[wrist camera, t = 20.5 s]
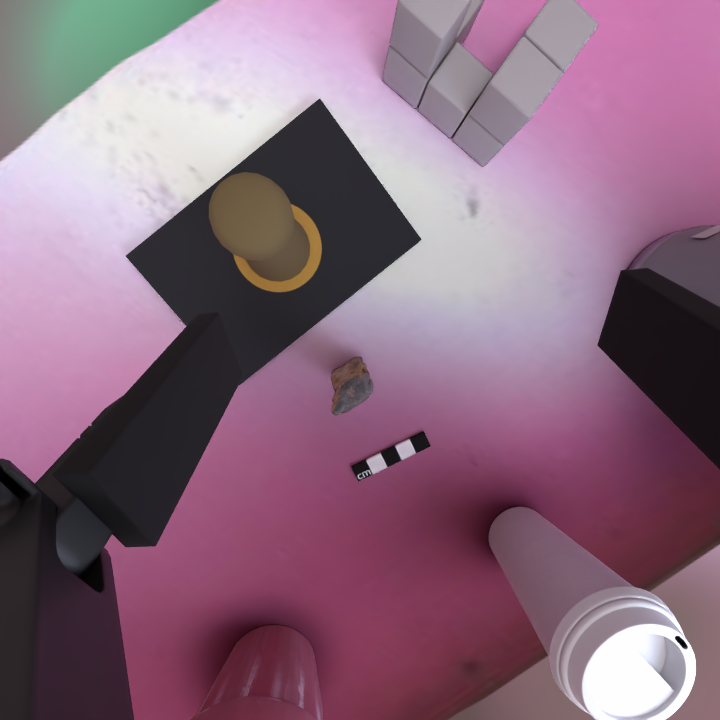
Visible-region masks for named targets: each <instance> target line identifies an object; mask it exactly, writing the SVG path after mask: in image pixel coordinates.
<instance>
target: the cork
mask: <svg viewBox="0 0 720 720" xmlns="http://www.w3.org/2000/svg"><path fill="white" fill-rule="evenodd" d="M209 220H210V223H211V226H212V230H213V232H214V234H215V236H216V237H217V239H218V240H219V242H220V243H221V245H222V246H224V247H225V248H226V249H227V250H229V251H230V252H231V253H232V254H234V255H236V256H239V257H241V258H244V259H245V260H246V262H247V263H248V265H249V266H250V268H251V269H252V270H253V271H254V272H255V273H256V274H258V275H259V276H260V277H262V278H264V279H267V280H269V281H278V282H282V281H286V280H290V279H292V278H294V277H295V276H297V275H298V274H300V273H301V271H302V270H303V269H304V268H305V266H306V265H307V262H308V259H309V256H310V242H309V239H308V235H307V233H306V232H305V230H304V228H303V227H302V225H301V224H300V223H299V222H298V221H297V220H295V219H294V214H293V211H292V207H291V203H290V201H289V199H288V197H287V196H286V194H285V193H284V191H283V189H282V188H280V187H279V186H278V185H277V184H276V183H275V182H273V181H272V180H271V179H269V178H267V177H264V176H262V175H260V174H258V173H248V172H243V173H238V174H234V175H231V176H230V177H228V178H226V179H225V180H223V181H222V182H221V183H220V184H219V185H218V187H217V188H216V189H215V190H214V192H213V194H212V197H211V200H210V203H209Z"/></svg>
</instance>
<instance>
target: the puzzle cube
mask: <svg viewBox="0 0 720 720" xmlns="http://www.w3.org/2000/svg"><path fill="white" fill-rule="evenodd" d="M483 2H484V0H398V2H397V7H396V12H395V18H394V23H393V28H392V33H391V38H390V46H389V48H388V53H387V58H386V63H385V68H384V73H383V78H382V79H383V81H384V82H385V83H386V84H387V85H388V86H390V87H391V88H392V89H393V90H394V91H395V92H397V93H398V94H399V95H400V96H401V97H402V98H404V99H405V100H406V101H407V102H408V103H409V104H411V105H412V106H413V107H414V108H417V106H418V105H419V104H420V106H419V108H418V111H419V112H420V113H421V114H422V115H423V116H425V117H426V118H427V119H428V120H429V121H430V122H432V123H433V124H434V125H435V126H436V127H437V128H439V129H440V130H441V131H442V132H443V133H444V134H446V135H447V136H448V137H449V138H450V137H452V136H453V134H454V133H455V131H456V130H457V129H458V127H459V126H460V124H461V123H462V122H463V120H464V119H465V117H466V116H467V115H468V116H467V117H466V119H465V120H464V122H463V123H462V125H461V126H460V128H459V129H458V131H457V132H456V134H455V136H454V137H453V141H454V142H455V143H456V144H457V145H458V146H460V147H461V148H462V149H463V150H464V151H465V152H467V153H468V154H469V155H470V156H471V157H472V158H474V159H475V160H476V161H477V162H478V163H479V164H481V165H482V166H485V165H486V164H487V163H488V162H489V161H490V160H491V159H492V158H493V157H494V156H495V155H496V154H497V153H498V152H499V151H500V150H501V149H502V148H503V147H504V145H505V144H506V143H508V141H509V140H510V139H511V138H512V137H513V136H514V135H515V134H516V133H517V132H518V131H519V130H520V129H521V128H522V127H523V126H524V125H525V124H526V123H527V122H528V121H529V120H530V119H531V118H532V116H533V115H534V114H535V112H536V111H537V110H538V108H539V107H540V105H541V104H542V103H543V101H544V100H545V99H546V97H547V96H548V94H549V93H550V92H551V90H552V89H553V88H554V86H555V85H556V83H557V82H558V81H559V79H560V78H561V77H562V75H563V73H564V72H565V71H566V70H567V68H568V67H569V66H570V64H571V63H572V61H573V60H574V59H575V57H576V56H577V55H578V53H579V52H580V51H581V49H582V48H583V46H584V45H585V44H586V42H587V41H588V40H589V38H590V37H591V35H592V34H593V33H594V31H595V30H596V29H597V27H598V22H597V21H596V20H595V19H594V18H593V17H592V16H591V15H590V14H589V13H588V12H587V11H586V10H585V9H584V8H583V7H582V6H581V5H579V4H578V3H577V2H576V1H575V0H548V1H547V2H546V3H545V5H544V6H543V8H542V9H541V10H540V12H539V13H538V15H537V16H536V17H535V19H534V20H533V22H532V23H531V24H530V26H529V27H528V29H527V30H526V31H525V33H524V34H523V36H522V37H521V38H520V40H519V41H518V43H517V44H516V45H515V47H514V48H513V50H512V51H511V52H510V54H509V55H508V57H507V58H506V59H505V61H504V62H503V64H502V65H501V66H500V68H499V69H498V71H497V72H496V73H495V75H494V76H493V73H492V72H491V71H489V70H488V69H487V68H486V67H485V66H484V65H483V64H482V63H481V62H480V61H478V60H477V59H476V58H475V57H474V56H473V55H472V54H471V53H470V52H468V51H467V50H466V49H465V48H464V47H463V46H462V45H461V44H462V43H463V41H464V40H465V38H466V37H467V36H468V34H469V32H470V29H471V27H472V25H473V23H474V21H475V19H476V17H477V14H478V12H479V10H480V8H481V6H482V4H483ZM492 77H493V78H492ZM420 102H421V103H420ZM470 110H471V111H470ZM469 112H470V113H469ZM468 113H469V114H468Z"/></svg>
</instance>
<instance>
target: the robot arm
mask: <svg viewBox="0 0 720 720" xmlns="http://www.w3.org/2000/svg"><path fill="white" fill-rule="evenodd" d="M598 346H599V347H600V348H601V349H602V350H603V351H604V352H605V354H606V355H607V356H608V357H609V358H610V359H611V360H612V361H613V362H614V363H615V364H616V365H617V366H618V367H619V368H620V369H621V370H622V371H623V372H624V373H625V374H626V375H627V376H628V377H629V378H630V379H631V380H632V381H633V382H634V383H635V384H636V385H637V386H638V387H639V388H640V389H641V390H642V391H643V392H644V393H645V394H646V395H647V396H648V397H649V398H650V399H651V400H652V401H653V402H654V403H655V404H656V405H657V406H658V407H659V408H660V409H661V410H662V411H663V412H664V413H665V414H666V415H667V416H668V417H669V418H670V419H671V420H672V421H673V422H674V424H675V425H676V426H677V427H678V428H679V429H680V430H681V431H682V432H683V433H684V434H685V435H686V436H687V437H688V438H689V439H690V440H691V441H692V442H693V443H694V444H695V445H696V446H697V447H698V448H699V449H700V450H701V451H702V452H703V453H704V454H705V455H706V456H707V457H708V458H709V459H710V460H711V461H712V462H713V463H714V464H715V465H716V466H717V467H718V468H719V469H720V224H719V225H710V226H699V227H694V228H689V229H685V230H682V231H678V232H674V233H671V234H668V235H666V236H664V237H662V238H660V239H658V240H656V241H655V242H653V243H652V244H651V245H649V246H648V247H647V248H646V249H644V250H643V251H642V252H641V253H640V254H639V255H638V256H637V258H636V259H635V260H634V261H633V263H632V264H631V266H630V267H629V269H628V270H622V271H621V272H620V275H619V278H618V282H617V285H616V288H615V291H614V294H613V297H612V301H611V304H610V307H609V310H608V313H607V316H606V320H605V323H604V326H603V329H602V332H601V335H600V339H599V342H598ZM243 375H244V374H243V372H242V369H241V367H240V364H239V362H238V359H237V357H236V354H235V352H234V349H233V347H232V344H231V342H230V340H229V337H228V335H227V332H226V330H225V327H224V325H223V322H222V320H221V317H220V315H219V312H214V313H205V314H197V316H196V317H195V318H194V319H193V320H192V321H191V322H190V323H189V324H188V325H187V327H186V328H185V329H184V330H183V331H182V332H181V333H180V334H179V335H178V336H177V338H176V339H175V340H174V341H173V342H172V343H171V344H170V345H169V346H168V347H167V349H166V350H165V351H164V352H163V353H162V354H161V355H160V356H159V357H158V358H157V360H156V361H155V362H154V363H153V364H152V365H151V366H150V367H149V368H148V369H147V371H146V372H145V373H144V374H143V375H142V376H141V377H140V378H139V379H138V380H137V382H136V383H135V384H134V385H133V386H132V387H131V388H130V389H129V390H128V391H127V393H126V394H125V395H124V396H122V397H121V398H119V399H118V400H117V401H115V402H114V403H112V404H111V405H109V406H108V407H107V408H105V409H104V410H103V411H102V412H101V413H100V415H99V416H98V417H97V418H96V419H95V420H94V421H93V422H92V423H91V424H92V426H88V427H87V429H86V430H85V431H84V432H83V433H82V434H81V435H80V438H77V439H76V440H75V441H74V442H73V444H72V445H71V446H70V447H69V448H68V449H67V450H66V451H65V452H64V453H63V454H62V455H61V456H60V457H59V459H58V460H57V461H56V462H55V463H54V464H53V465H52V466H51V467H50V468H49V469H48V470H47V471H46V472H45V474H44V475H43V476H42V477H41V478H40V479H39V480H38V481H37V482H36V483H35V484H34V483H33V482H32V481H31V480H30V479H29V478H28V477H27V476H26V475H25V474H24V473H22V472H21V471H20V470H19V469H18V468H17V467H16V466H15V465H14V464H13V463H12V462H11V461H8V460H5V459H0V720H134V716H133V709H132V702H131V695H130V688H129V681H128V674H127V667H126V660H125V653H124V647H123V640H122V633H121V626H120V619H119V612H118V605H117V598H116V591H115V584H114V577H113V570H112V563H111V557H110V555H109V553H108V551H107V550H106V549H105V548H104V546H105V544H106V543H107V541H108V540H109V538H110V536H111V535H112V534H113V535H114V536H115V537H116V538H117V539H118V540H119V541H120V542H121V543H122V544H123V545H124V546H125V547H145V546H156V544H157V542H158V540H159V539H160V537H161V535H162V533H163V531H164V529H165V527H166V525H167V523H168V521H169V519H170V517H171V515H172V513H173V511H174V509H175V507H176V505H177V503H178V502H179V500H180V498H181V496H182V494H183V492H184V490H185V488H186V486H187V484H188V482H189V480H190V478H191V476H192V474H193V472H194V470H195V468H196V466H197V465H198V463H199V461H200V459H201V457H202V455H203V453H204V451H205V449H206V447H207V445H208V443H209V441H210V439H211V437H212V435H213V433H214V431H215V429H216V428H217V426H218V424H219V422H220V420H221V418H222V416H223V414H224V412H225V410H226V408H227V406H228V404H229V402H230V400H231V398H232V396H233V394H234V392H235V391H236V389H237V387H238V385H239V383H240V381H241V379H242V377H243Z"/></svg>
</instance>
